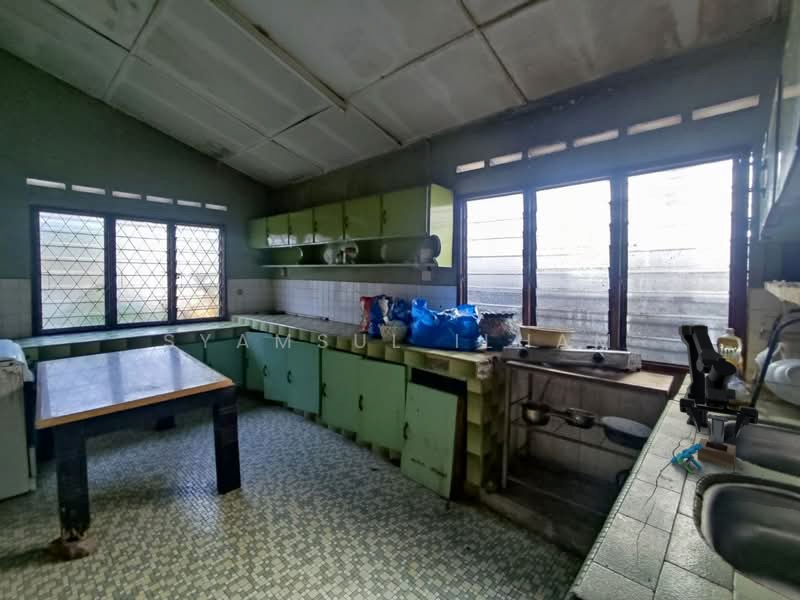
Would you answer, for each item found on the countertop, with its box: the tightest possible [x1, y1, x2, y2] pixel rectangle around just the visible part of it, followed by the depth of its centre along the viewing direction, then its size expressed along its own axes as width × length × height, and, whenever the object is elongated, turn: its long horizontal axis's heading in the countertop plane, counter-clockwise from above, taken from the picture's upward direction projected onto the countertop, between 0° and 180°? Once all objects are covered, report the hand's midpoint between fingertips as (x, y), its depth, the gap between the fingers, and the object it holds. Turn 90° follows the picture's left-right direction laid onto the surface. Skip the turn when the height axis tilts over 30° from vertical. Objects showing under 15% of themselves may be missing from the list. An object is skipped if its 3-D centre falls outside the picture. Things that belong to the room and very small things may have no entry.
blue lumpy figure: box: [670, 443, 703, 475], centre depth 108 cm, size 11×6×10 cm
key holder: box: [696, 437, 737, 469], centre depth 113 cm, size 8×8×4 cm
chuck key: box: [706, 413, 729, 451], centre depth 113 cm, size 3×5×13 cm, turn 48°
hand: (716, 435), depth 111 cm, fingers open, 8 cm apart
